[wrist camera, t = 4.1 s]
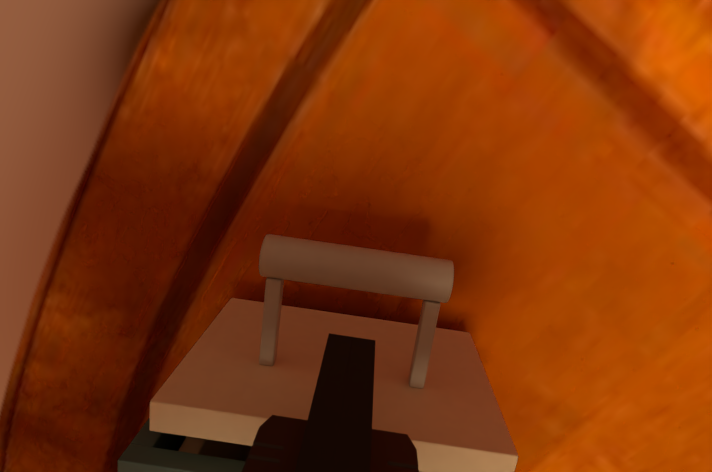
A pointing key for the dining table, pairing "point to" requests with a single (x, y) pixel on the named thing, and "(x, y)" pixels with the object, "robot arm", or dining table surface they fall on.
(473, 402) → the drawer
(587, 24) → the dining table surface
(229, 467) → the cabinet
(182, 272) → the dining table surface
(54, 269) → the dining table surface
